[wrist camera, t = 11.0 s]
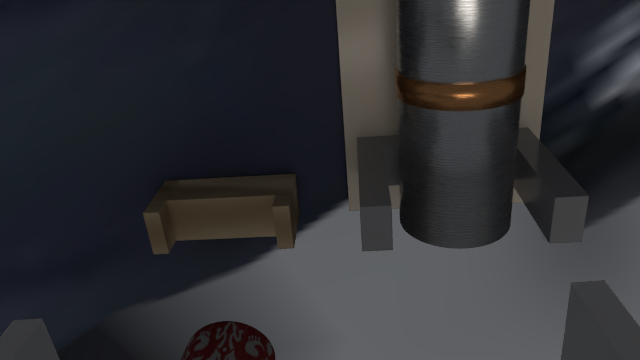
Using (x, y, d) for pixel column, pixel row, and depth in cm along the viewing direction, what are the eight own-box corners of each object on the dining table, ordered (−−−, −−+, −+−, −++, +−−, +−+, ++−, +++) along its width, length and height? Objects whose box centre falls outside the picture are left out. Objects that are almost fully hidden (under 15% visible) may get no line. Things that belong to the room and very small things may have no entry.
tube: (495, 190, 32) (527, 246, 26) (393, 195, 32) (403, 252, 27) (528, -266, 22) (589, -328, 17) (383, -249, 23) (396, -305, 17)
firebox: (527, 194, 35) (589, 287, 26) (349, 203, 36) (350, 296, 27) (568, -203, 26) (688, -270, 17) (324, -177, 27) (313, -227, 18)
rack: (299, 212, 37) (293, 248, 33) (174, 218, 37) (153, 254, 33) (265, -93, 28) (251, -95, 24) (105, -78, 29) (66, -78, 25)
